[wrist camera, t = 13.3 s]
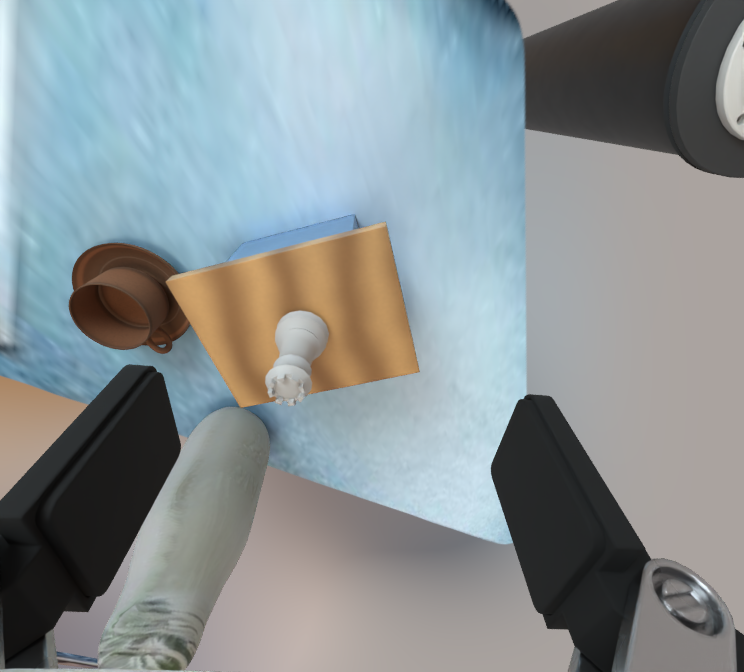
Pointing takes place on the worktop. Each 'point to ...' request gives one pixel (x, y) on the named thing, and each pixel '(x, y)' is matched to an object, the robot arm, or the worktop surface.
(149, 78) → the worktop surface
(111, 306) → the cup and saucer
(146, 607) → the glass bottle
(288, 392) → the rook chess piece
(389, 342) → the board
